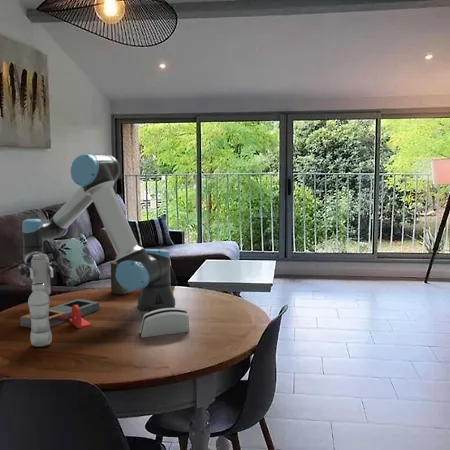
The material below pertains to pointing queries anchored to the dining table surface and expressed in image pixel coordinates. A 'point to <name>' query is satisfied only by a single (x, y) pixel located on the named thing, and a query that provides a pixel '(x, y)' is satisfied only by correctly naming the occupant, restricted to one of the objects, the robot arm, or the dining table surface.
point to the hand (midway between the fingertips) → (42, 274)
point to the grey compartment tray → (64, 312)
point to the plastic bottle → (39, 316)
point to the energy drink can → (41, 271)
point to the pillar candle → (115, 286)
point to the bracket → (78, 318)
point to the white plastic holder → (164, 322)
